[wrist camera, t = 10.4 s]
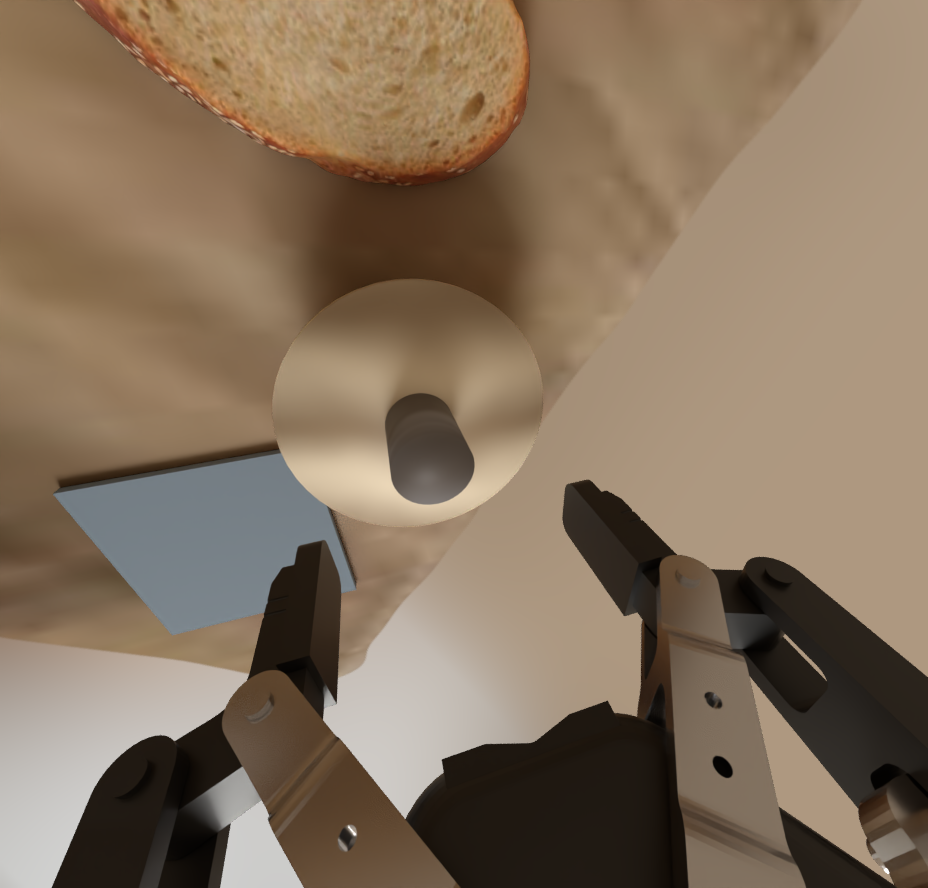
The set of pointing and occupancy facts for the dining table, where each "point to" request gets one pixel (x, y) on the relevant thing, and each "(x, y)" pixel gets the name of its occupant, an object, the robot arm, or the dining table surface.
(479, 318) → the lid
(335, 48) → the bread slice
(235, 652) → the dining table surface
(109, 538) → the mat
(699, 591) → the robot arm
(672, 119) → the dining table surface
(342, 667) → the dining table surface
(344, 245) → the dining table surface
